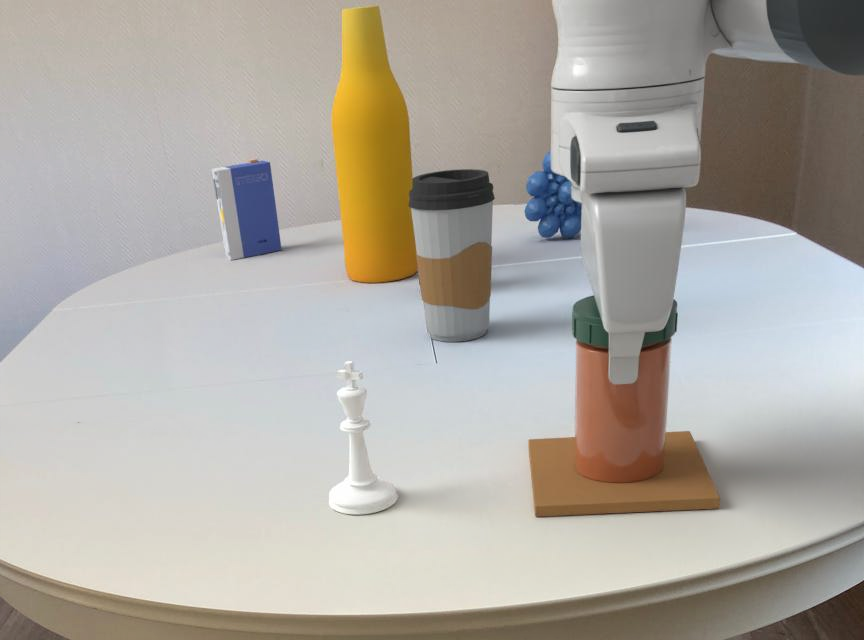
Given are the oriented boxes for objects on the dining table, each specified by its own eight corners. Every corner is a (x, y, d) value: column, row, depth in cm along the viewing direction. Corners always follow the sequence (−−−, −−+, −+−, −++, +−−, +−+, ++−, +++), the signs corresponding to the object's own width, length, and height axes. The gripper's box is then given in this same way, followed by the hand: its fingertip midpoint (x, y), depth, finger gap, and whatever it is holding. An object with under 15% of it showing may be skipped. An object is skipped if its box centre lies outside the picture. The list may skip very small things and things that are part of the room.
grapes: (608, 228, 145) (610, 132, 138) (615, 238, 139) (618, 138, 133) (522, 235, 146) (521, 139, 139) (526, 245, 140) (524, 146, 134)
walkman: (274, 247, 153) (262, 157, 147) (281, 250, 151) (269, 159, 145) (223, 257, 150) (209, 166, 144) (230, 260, 148) (215, 168, 142)
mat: (689, 440, 79) (690, 430, 79) (719, 508, 69) (720, 497, 69) (528, 448, 81) (528, 439, 80) (535, 517, 71) (535, 506, 70)
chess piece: (376, 519, 73) (362, 377, 67) (316, 509, 75) (297, 371, 69) (409, 490, 76) (398, 353, 71) (351, 482, 78) (336, 348, 73)
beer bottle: (335, 284, 131) (306, 13, 116) (360, 265, 138) (336, 9, 123) (406, 283, 128) (386, 5, 113) (428, 264, 135) (412, 1, 120)
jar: (657, 446, 77) (665, 300, 71) (670, 481, 72) (680, 326, 66) (571, 450, 78) (572, 306, 72) (577, 485, 72) (580, 332, 67)
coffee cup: (463, 317, 113) (456, 166, 105) (515, 330, 107) (512, 171, 99) (401, 335, 109) (389, 180, 102) (452, 350, 104) (443, 187, 96)
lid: (570, 320, 73) (570, 294, 72) (668, 315, 72) (670, 288, 71) (575, 350, 67) (575, 321, 66) (682, 344, 67) (684, 315, 66)
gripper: (562, 120, 73) (560, 322, 80) (583, 165, 55) (578, 417, 63) (656, 112, 72) (645, 317, 79) (707, 156, 55) (687, 413, 62)
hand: (616, 362), depth 71 cm, fingers closed on jar, 6 cm apart
